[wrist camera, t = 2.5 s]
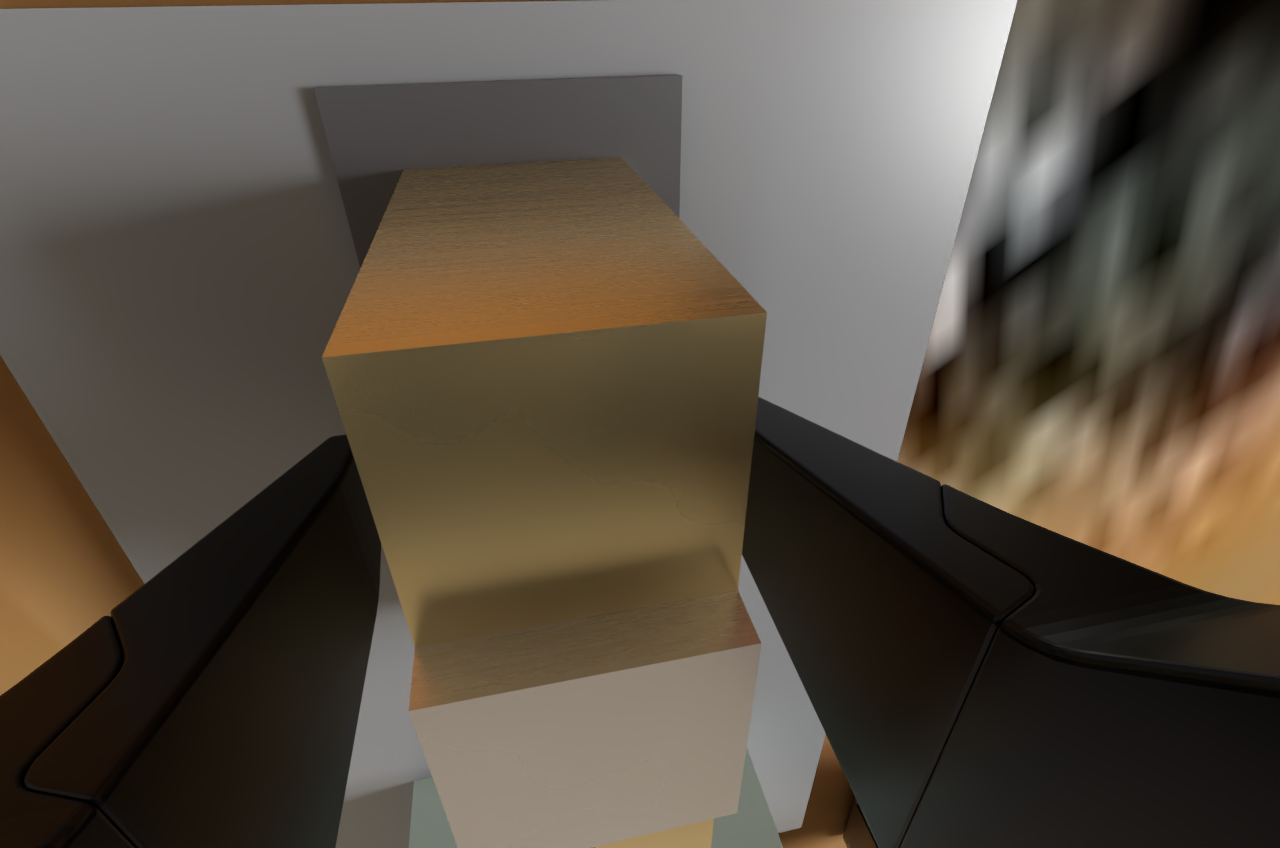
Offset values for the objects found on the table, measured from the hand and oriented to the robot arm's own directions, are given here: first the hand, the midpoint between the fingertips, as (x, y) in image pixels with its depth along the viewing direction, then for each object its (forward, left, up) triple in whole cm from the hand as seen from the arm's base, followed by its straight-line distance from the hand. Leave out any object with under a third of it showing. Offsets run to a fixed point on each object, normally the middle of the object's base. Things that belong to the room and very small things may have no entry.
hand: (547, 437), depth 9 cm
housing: (0, +5, -4) cm, 6 cm away
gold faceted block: (0, 0, 0) cm, 0 cm away
